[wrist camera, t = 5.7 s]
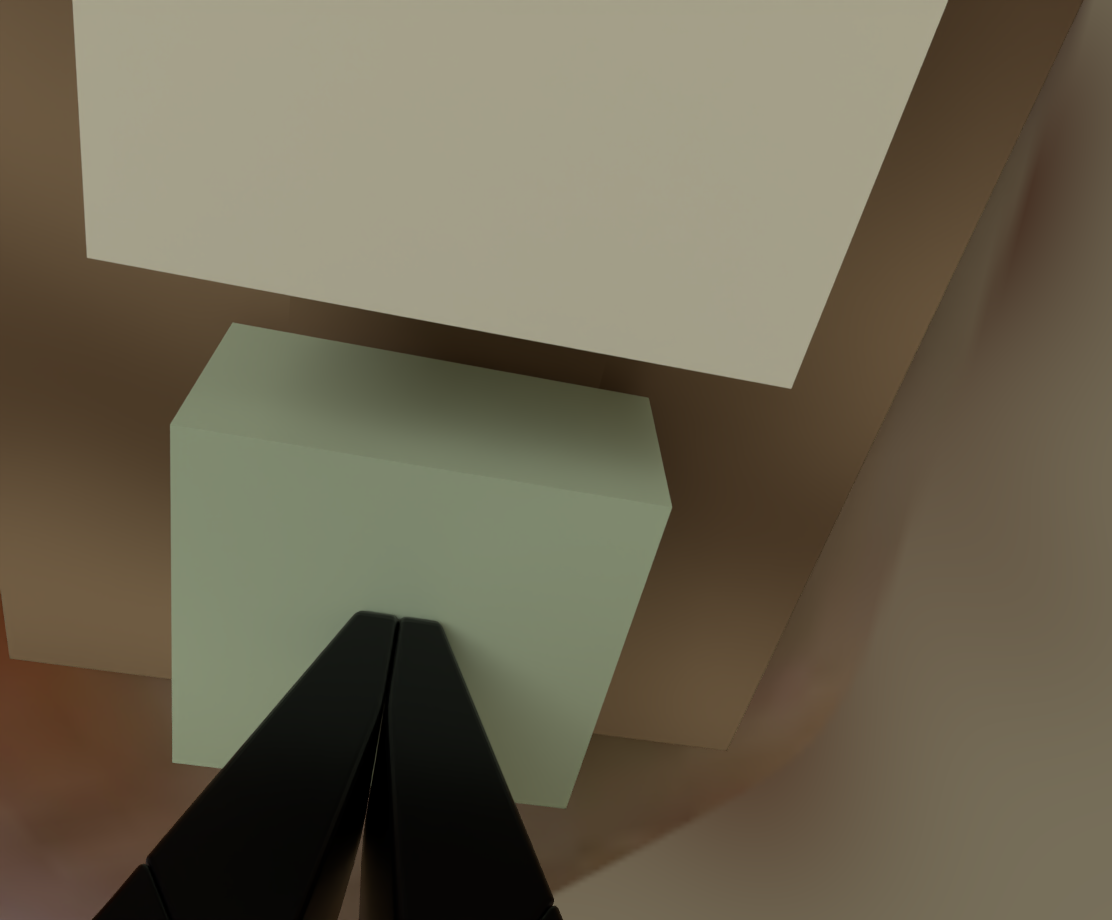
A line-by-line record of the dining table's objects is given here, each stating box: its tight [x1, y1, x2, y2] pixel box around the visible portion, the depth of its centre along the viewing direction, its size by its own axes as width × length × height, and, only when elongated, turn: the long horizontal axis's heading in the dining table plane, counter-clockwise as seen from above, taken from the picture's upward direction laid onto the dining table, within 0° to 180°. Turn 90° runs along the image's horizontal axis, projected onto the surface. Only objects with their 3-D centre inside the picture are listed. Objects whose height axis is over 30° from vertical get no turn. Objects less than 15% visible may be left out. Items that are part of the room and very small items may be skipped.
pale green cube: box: [170, 323, 672, 809], centre depth 11 cm, size 4×4×4 cm
